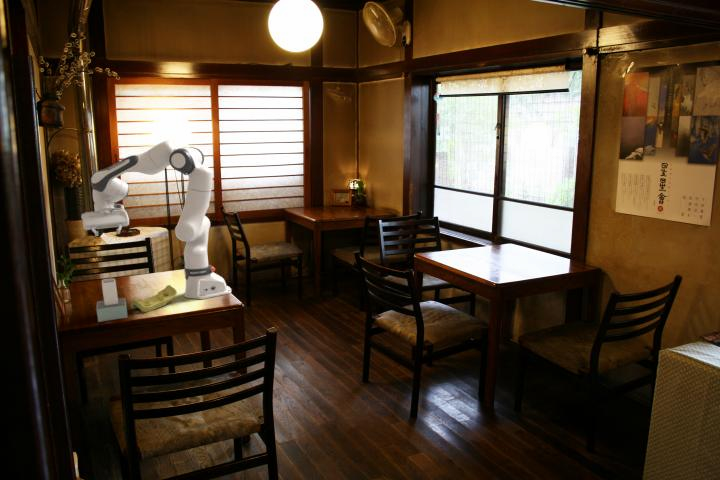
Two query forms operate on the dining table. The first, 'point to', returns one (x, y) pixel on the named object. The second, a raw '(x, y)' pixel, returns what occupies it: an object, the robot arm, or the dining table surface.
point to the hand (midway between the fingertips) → (107, 234)
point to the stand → (111, 310)
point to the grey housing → (109, 291)
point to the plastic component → (155, 300)
